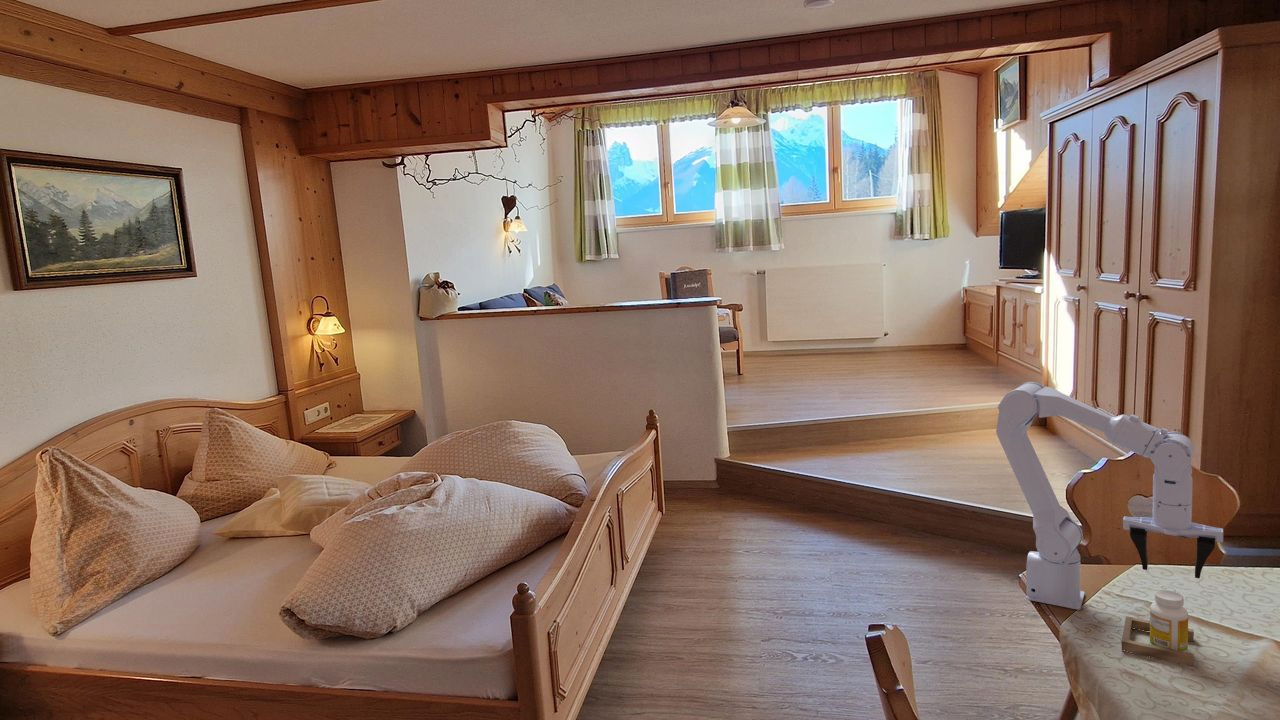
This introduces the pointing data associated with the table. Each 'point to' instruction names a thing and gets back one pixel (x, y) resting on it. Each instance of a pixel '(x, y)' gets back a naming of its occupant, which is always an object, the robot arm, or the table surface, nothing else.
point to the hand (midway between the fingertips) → (1170, 571)
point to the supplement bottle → (1169, 621)
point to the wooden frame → (1153, 650)
